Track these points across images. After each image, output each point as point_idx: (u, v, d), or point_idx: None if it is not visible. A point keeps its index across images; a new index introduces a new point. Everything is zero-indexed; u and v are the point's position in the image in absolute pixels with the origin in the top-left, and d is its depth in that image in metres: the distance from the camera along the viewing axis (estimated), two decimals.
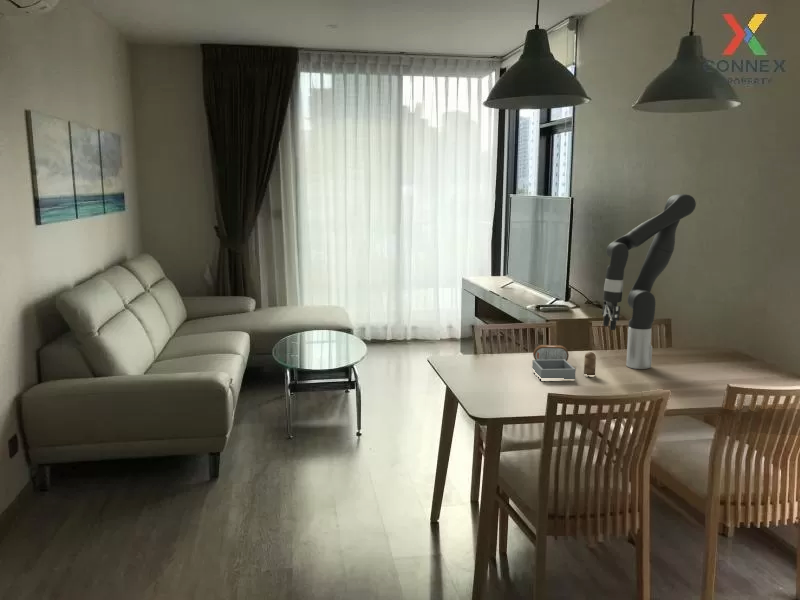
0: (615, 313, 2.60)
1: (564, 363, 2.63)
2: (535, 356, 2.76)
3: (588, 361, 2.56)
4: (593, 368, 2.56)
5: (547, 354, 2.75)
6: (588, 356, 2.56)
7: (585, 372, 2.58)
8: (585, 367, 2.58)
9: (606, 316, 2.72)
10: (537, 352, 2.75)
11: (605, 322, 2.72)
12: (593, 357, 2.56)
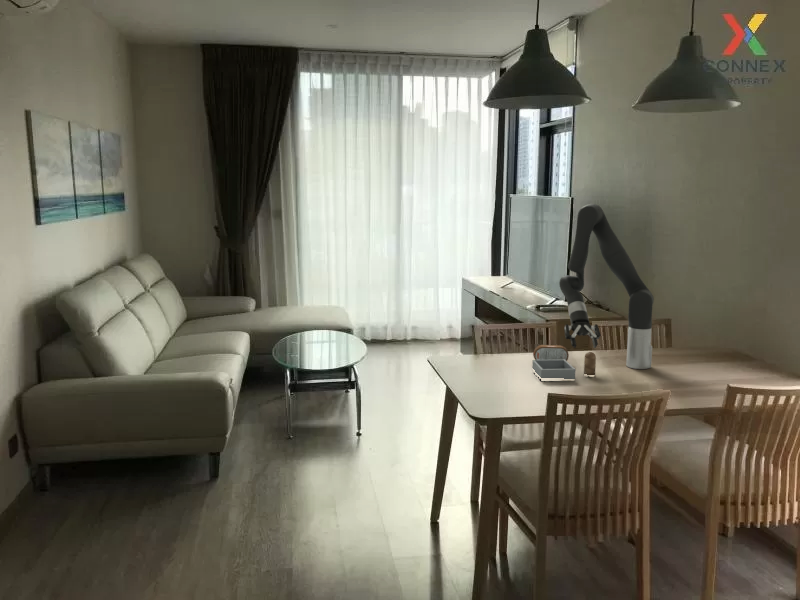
0: (565, 332, 2.68)
1: (564, 363, 2.63)
2: (535, 356, 2.76)
3: (588, 361, 2.56)
4: (593, 368, 2.56)
5: (547, 354, 2.75)
6: (588, 356, 2.56)
7: (585, 372, 2.58)
8: (585, 367, 2.58)
9: (592, 338, 2.66)
10: (537, 352, 2.75)
11: (593, 344, 2.65)
12: (593, 357, 2.56)
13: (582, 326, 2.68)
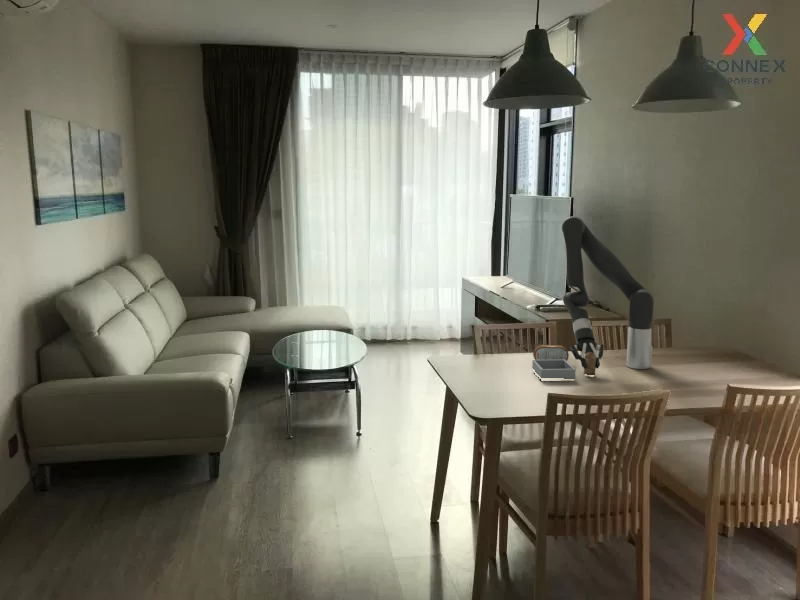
0: (573, 353, 2.61)
1: (564, 363, 2.63)
2: (535, 356, 2.76)
3: (588, 361, 2.56)
4: (593, 368, 2.56)
5: (547, 354, 2.75)
6: (588, 356, 2.56)
7: (585, 372, 2.58)
8: None
9: None
10: (537, 352, 2.75)
11: None
12: (593, 357, 2.56)
13: (587, 344, 2.61)
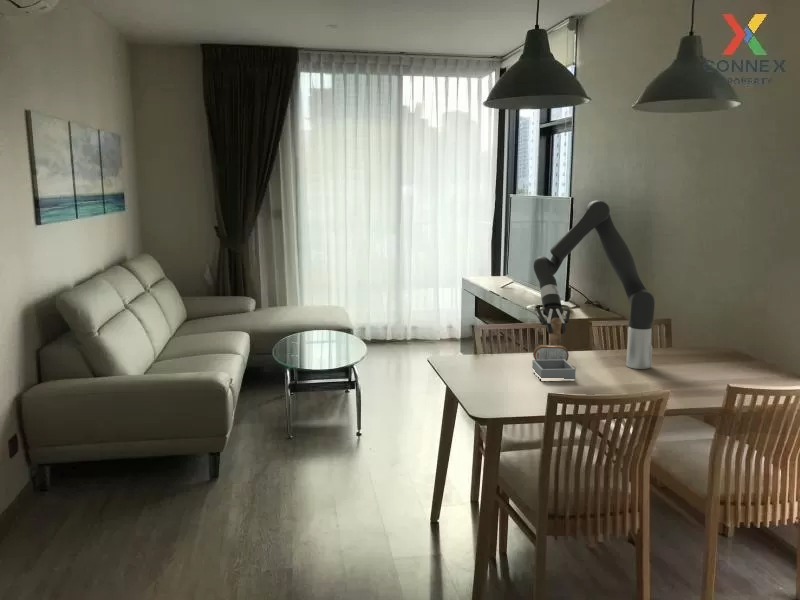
0: (539, 318, 2.58)
1: (564, 363, 2.63)
2: (535, 356, 2.76)
3: (553, 326, 2.53)
4: (558, 334, 2.54)
5: (547, 354, 2.75)
6: (554, 322, 2.53)
7: (550, 338, 2.55)
8: (551, 333, 2.55)
9: None
10: (537, 352, 2.75)
11: (561, 330, 2.55)
12: (559, 322, 2.53)
13: (554, 310, 2.59)
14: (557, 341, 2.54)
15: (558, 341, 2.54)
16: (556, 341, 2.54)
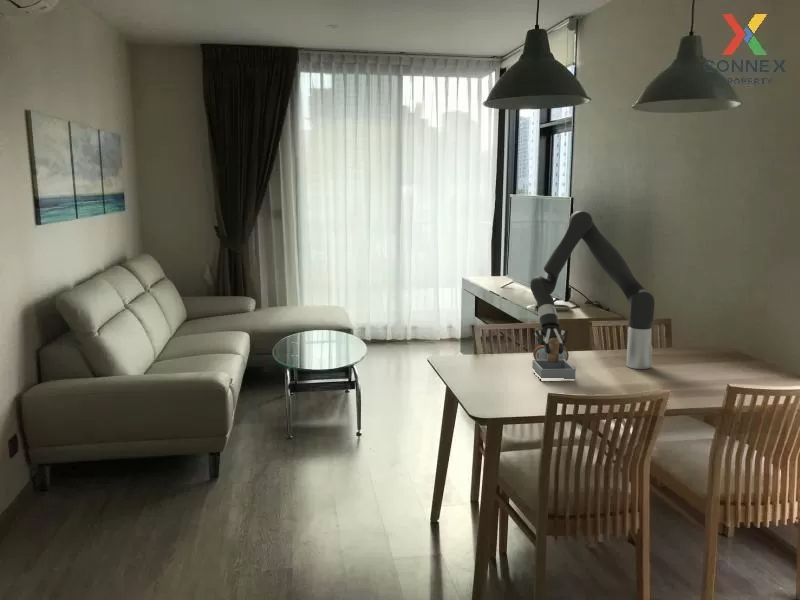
0: (537, 338, 2.59)
1: (564, 363, 2.63)
2: (535, 356, 2.76)
3: (551, 346, 2.55)
4: (556, 354, 2.55)
5: (547, 354, 2.75)
6: (552, 342, 2.54)
7: (548, 358, 2.56)
8: None
9: None
10: (537, 352, 2.75)
11: (559, 350, 2.56)
12: (556, 342, 2.54)
13: (552, 330, 2.60)
14: (555, 361, 2.55)
15: (556, 361, 2.55)
16: (554, 361, 2.55)
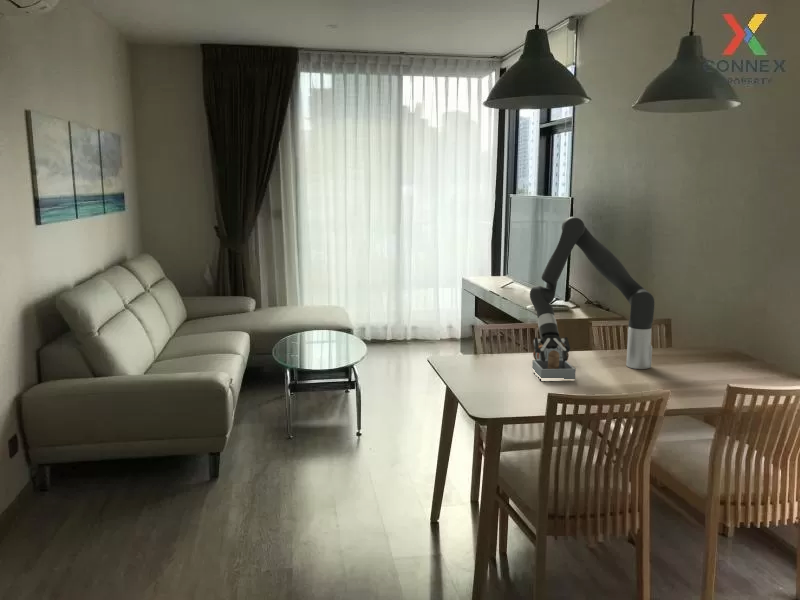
0: (534, 345, 2.60)
1: (564, 363, 2.63)
2: (535, 356, 2.76)
3: (551, 359, 2.56)
4: (556, 367, 2.56)
5: (547, 354, 2.75)
6: (552, 355, 2.55)
7: None
8: (549, 365, 2.57)
9: (562, 351, 2.59)
10: None
11: (563, 357, 2.57)
12: (556, 355, 2.55)
13: (551, 339, 2.60)
14: None
15: None
16: None
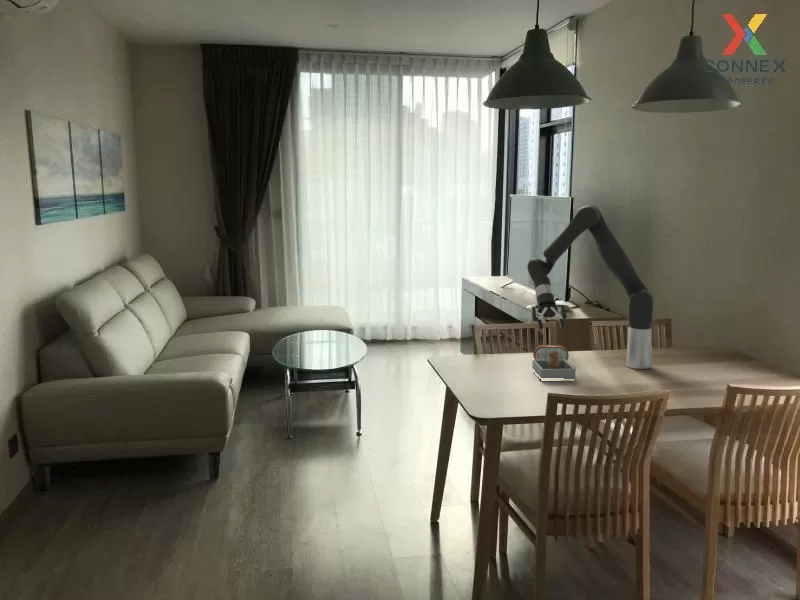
0: (532, 314, 2.71)
1: (564, 363, 2.63)
2: (535, 356, 2.76)
3: (551, 359, 2.56)
4: (556, 366, 2.56)
5: (547, 354, 2.75)
6: (552, 355, 2.55)
7: None
8: (548, 365, 2.57)
9: (559, 320, 2.69)
10: (537, 352, 2.75)
11: (560, 325, 2.68)
12: (556, 355, 2.55)
13: (549, 308, 2.71)
14: None
15: None
16: None
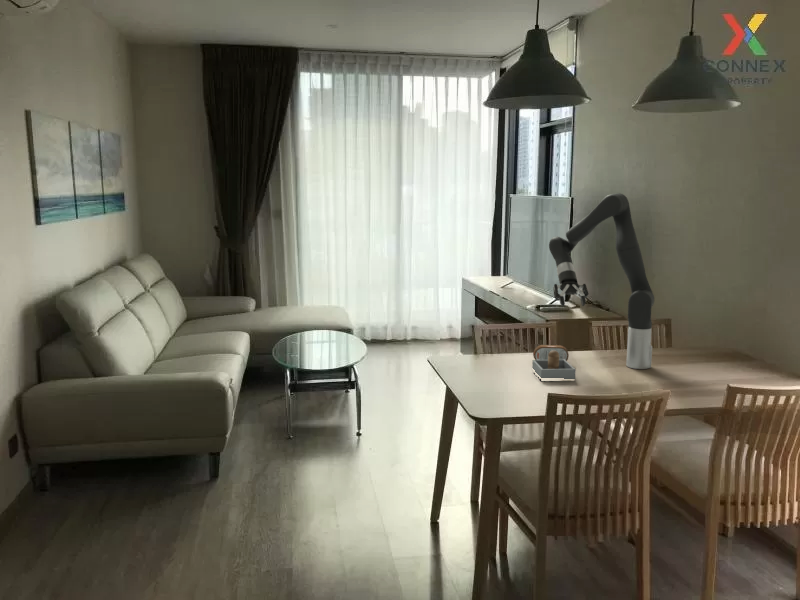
0: (554, 291, 2.74)
1: (564, 363, 2.63)
2: (535, 356, 2.76)
3: (551, 359, 2.56)
4: (556, 366, 2.56)
5: (547, 354, 2.75)
6: (552, 355, 2.55)
7: None
8: (548, 365, 2.57)
9: (581, 297, 2.72)
10: (537, 352, 2.75)
11: (581, 302, 2.71)
12: (556, 355, 2.55)
13: (570, 285, 2.74)
14: None
15: None
16: None
